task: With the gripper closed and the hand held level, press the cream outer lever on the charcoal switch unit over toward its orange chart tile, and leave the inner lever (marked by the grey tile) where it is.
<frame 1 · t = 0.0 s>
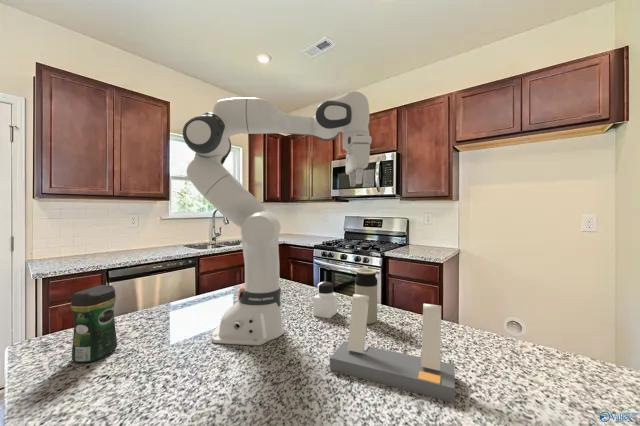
hand: (355, 185, 94), 48 cm above the countertop, tool pointing down, fingers open, 8 cm apart
inner lever: (358, 322, 75), point 10 cm above the countertop, hinge at -20.0°
coffee jar: (94, 355, 77), on the countertop
outer lever: (431, 335, 67), point 10 cm above the countertop, hinge at -20.0°
switch unit: (390, 373, 69), on the countertop
travel mug: (366, 320, 102), on the countertop
medicine bottle: (325, 314, 108), on the countertop
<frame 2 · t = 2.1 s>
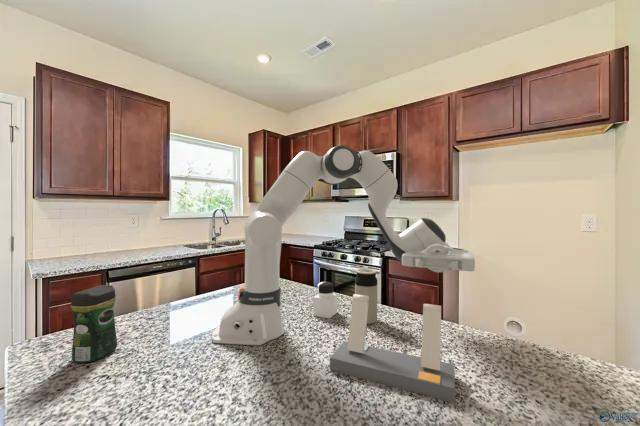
hand: (435, 265, 79), 24 cm above the countertop, tool horizontal, fingers open, 6 cm apart
nothing on the countertop moved.
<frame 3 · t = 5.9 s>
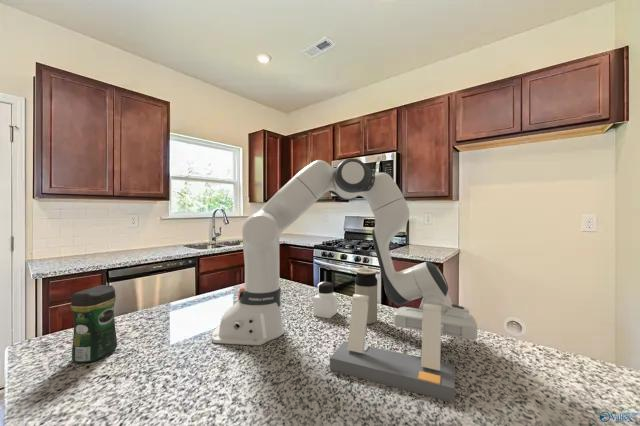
hand: (431, 333, 68), 10 cm above the countertop, tool horizontal, fingers closed, pressing on outer lever
outer lever: (431, 335, 67), point 10 cm above the countertop, hinge at -19.9°, touching gripper
everything else where it was.
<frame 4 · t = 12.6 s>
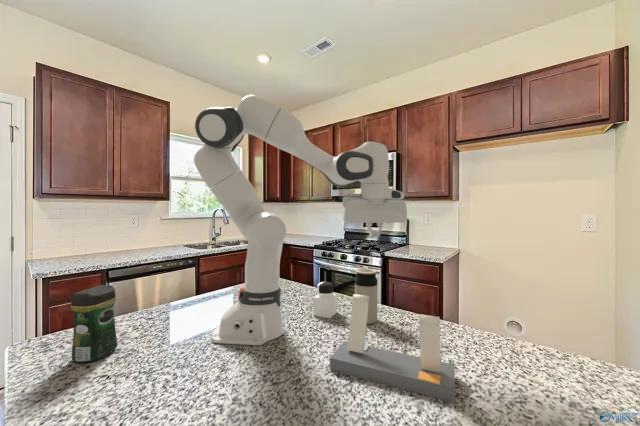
hand: (374, 236, 90), 31 cm above the countertop, tool pointing down, fingers closed
outer lever: (430, 343, 63), point 10 cm above the countertop, hinge at 17.7°
everything else where it was.
at the end: outer lever at +18° (first picture: -20°); inner lever at -20° (first picture: -20°) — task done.
